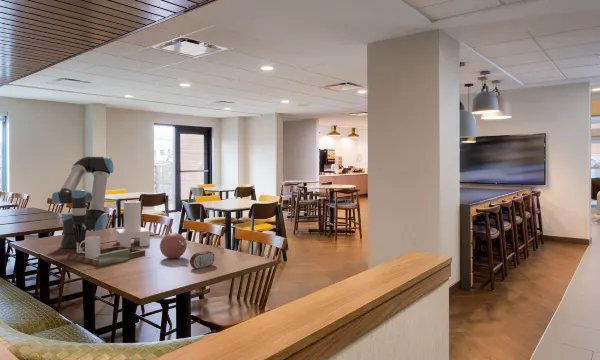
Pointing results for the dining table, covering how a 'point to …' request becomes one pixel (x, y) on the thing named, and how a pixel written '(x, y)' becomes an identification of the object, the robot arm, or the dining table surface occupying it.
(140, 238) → the white block stand
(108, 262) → the wooden compartment tray
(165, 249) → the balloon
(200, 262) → the tin
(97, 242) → the mug
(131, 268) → the dining table surface
